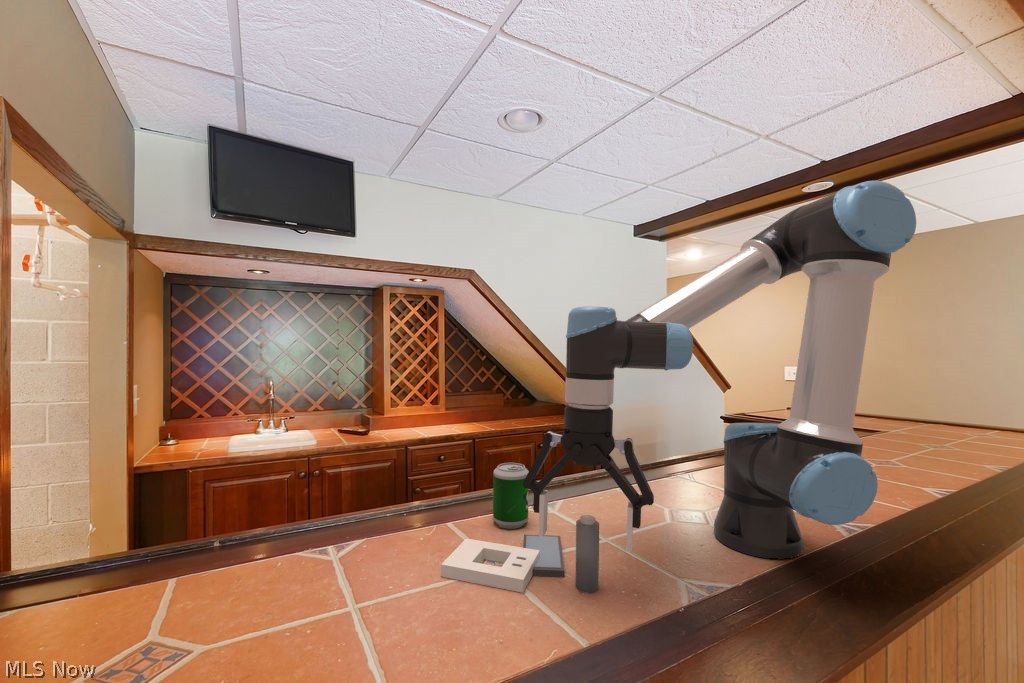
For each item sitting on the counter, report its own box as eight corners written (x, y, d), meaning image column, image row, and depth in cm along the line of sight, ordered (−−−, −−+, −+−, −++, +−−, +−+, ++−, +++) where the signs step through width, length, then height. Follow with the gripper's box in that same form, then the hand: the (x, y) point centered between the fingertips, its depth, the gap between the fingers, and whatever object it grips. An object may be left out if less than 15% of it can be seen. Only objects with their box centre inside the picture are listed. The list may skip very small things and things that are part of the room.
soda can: (525, 532, 89) (525, 472, 89) (488, 528, 90) (489, 470, 90) (530, 517, 96) (531, 462, 96) (497, 514, 97) (498, 460, 98)
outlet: (539, 561, 77) (539, 549, 77) (523, 592, 67) (523, 579, 67) (466, 549, 81) (466, 537, 81) (440, 576, 72) (441, 563, 72)
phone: (560, 540, 85) (560, 535, 85) (564, 576, 72) (564, 570, 72) (523, 539, 85) (524, 534, 85) (521, 575, 72) (521, 568, 72)
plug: (599, 582, 70) (600, 515, 70) (597, 594, 67) (597, 524, 67) (577, 578, 71) (578, 512, 71) (573, 590, 68) (574, 520, 68)
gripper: (672, 407, 69) (668, 543, 69) (520, 397, 77) (516, 518, 76) (673, 414, 62) (669, 566, 62) (506, 402, 69) (502, 536, 69)
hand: (584, 540), depth 69 cm, fingers open, 13 cm apart
